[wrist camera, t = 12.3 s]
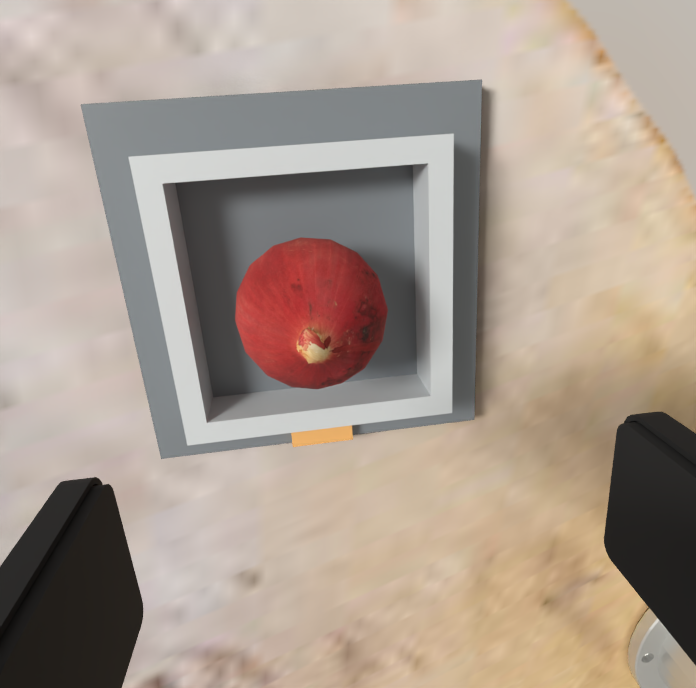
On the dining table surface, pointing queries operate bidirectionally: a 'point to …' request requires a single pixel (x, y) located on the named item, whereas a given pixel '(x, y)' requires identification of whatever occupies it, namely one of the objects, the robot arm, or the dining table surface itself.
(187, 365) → the tray
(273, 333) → the onion
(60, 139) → the dining table surface
